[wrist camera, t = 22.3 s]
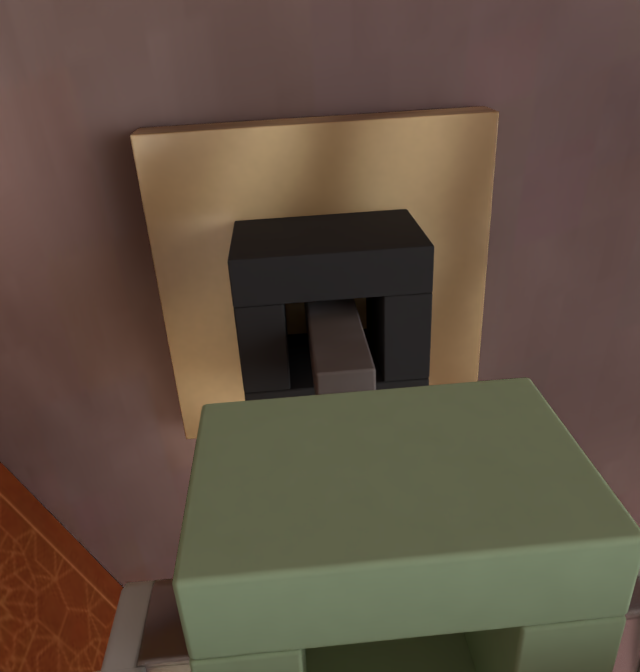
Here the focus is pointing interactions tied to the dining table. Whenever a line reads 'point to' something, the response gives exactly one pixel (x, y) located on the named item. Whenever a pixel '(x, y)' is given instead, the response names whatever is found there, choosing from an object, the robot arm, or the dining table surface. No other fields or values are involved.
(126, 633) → the robot arm
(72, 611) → the book
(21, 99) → the dining table surface
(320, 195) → the base board
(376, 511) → the green hollow square block
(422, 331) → the black hollow square block
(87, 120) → the dining table surface
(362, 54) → the dining table surface
